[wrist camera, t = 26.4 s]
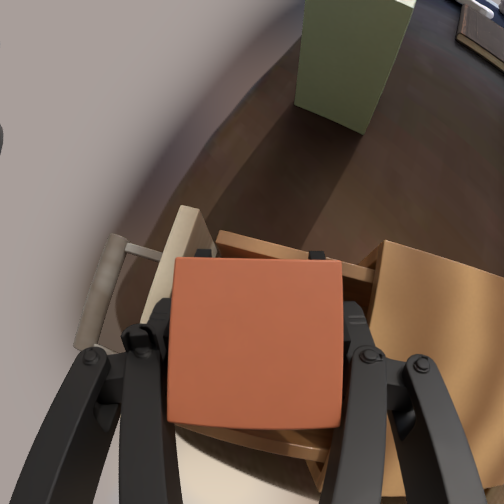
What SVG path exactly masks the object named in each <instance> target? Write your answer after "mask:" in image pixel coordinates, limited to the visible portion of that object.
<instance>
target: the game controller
mask: <svg viewBox="0 0 504 504" xmlns="http://www.w3.org/2000/svg"><path fill="white" fill-rule="evenodd" d="M456 1H458V2H459V3H461V4H467V5H468V6H470V7H472V8H473V9H475V10H477V11H478V12H480V13H481V14H483V15H484V16H486V17H487V18H489V19H492V18H493V16H494V13H493V12H492V11H491V10H490V9H489V8H487V7H486V6H483V5H481V4H479V3H478V2H476V1H475V0H456Z"/></svg>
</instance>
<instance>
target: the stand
mask: <svg viewBox="0 0 504 504" xmlns="http://www.w3.org/2000/svg"><path fill="white" fill-rule="evenodd" d="M416 1H417V0H305V10H304V20H303V30H302V39H301V49H300V58H299V67H298V76H297V85H296V94H295V102H294V105H296V106H298V107H301V108H303V109H306V110H308V111H311V112H313V113H316V114H318V115H320V116H323V117H325V118H327V119H330V120H332V121H334V122H336V123H339V124H341V125H343V126H345V127H347V128H350V129H352V130H354V131H356V132H358V133H360V134H362V135H364V134H365V131H366V129H367V127H368V124H369V122H370V120H371V117H372V115H373V113H374V111H375V108H376V106H377V103H378V101H379V99H380V96H381V94H382V92H383V89H384V87H385V84H386V82H387V79H388V77H389V74H390V72H391V69H392V66H393V64H394V61H395V59H396V56H397V54H398V51H399V48H400V46H401V43H402V40H403V38H404V35H405V32H406V29H407V27H408V24H409V21H410V18H411V16H412V13H413V10H414V7H415V4H416Z"/></svg>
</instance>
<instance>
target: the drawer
mask: <svg viewBox="0 0 504 504" xmlns="http://www.w3.org/2000/svg"><path fill="white" fill-rule="evenodd" d="M216 245H217V247H218V250H219V252H220V254H221V257H222V258H249V259H300V260H308V256H309V252H305V251H301V250H297V249H293V248H289V247H286V246H282V245H278V244H274V243H270V242H266V241H262V240H258V239H255V238H251V237H247V236H243V235H239V234H235V233H231V232H227V231H223V230H219V233H218V236H217V239H216ZM197 249H211V250H212V258H215V257H216V254H217V249H216V247H215V244H214V242H213V240H212V237H211V235H210V233H209V231H208V228H207V226H206V224H205V221H204V219H203V217H202V214H201V212H200V210H199V209H196V208H191V207H187V206H183V205H181V206H180V209H179V211H178V214H177V216H176V219H175V222H174V224H173V227H172V230H171V232H170V235H169V238H168V240H167V243H166V246H165V249H164V251H163V253H162V252H159V251H155V250H152V249H148V248H145V247H141V246H138V245H135V244H131V243H130V241H129V240H128V239H126V238H124V237H121V236H119V235H116V234H110V235H109V237H108V240H107V242H106V245H105V247H104V250H103V253H102V255H101V258H100V261H99V263H98V266H97V269H96V272H95V275H94V278H93V281H92V283H91V286H90V289H89V292H88V296H87V299H86V302H85V305H84V308H83V311H82V315H81V319H80V322H79V325H78V329H77V332H76V336H75V340H74V343H73V347H74V348H76V349H78V350H80V351H82V350H84V349H85V348H88V347H100V348H103V349H104V350H105V351H106V353H107V355H111V354H119V353H118V352H116V351H113V350H111V349H109V348H106V347H104V346H102V345H100V344H98V340H99V337H100V333H101V330H102V326H103V323H104V319H105V316H106V313H107V310H108V306H109V303H110V300H111V297H112V294H113V291H114V288H115V285H116V282H117V279H118V276H119V273H120V270H121V268H122V265H123V262H124V259H125V257H126V254H127V253H129V254H132V255H136V256H139V257H142V258H145V259H149V260H152V261H155V262H159V266H158V269H157V271H156V274H155V277H154V280H153V283H152V286H151V289H150V292H149V295H148V298H147V302H146V305H145V308H144V311H143V314H142V317H141V321H140V323H142V324H147V322H148V320H149V317H150V315H151V313H152V311H153V308H154V306H155V304H156V303H157V302H158V301H160V300H161V299H162V298H172V285H173V273H174V263H175V258H176V257H194V255H195V252H196V250H197ZM326 260H335V259H331V258H328V257H326ZM341 263H342V283H343V301H355V302H356V303H357V304H358V305H359V306H360V307H361V308H362V310H363V313H364V315H365V318H366V317H367V312H368V307H369V302H370V297H371V292H372V286H373V281H374V275H375V270H373V269H369V268H365V267H361V266H358V265H354V264H350V263H346V262H343V261H341ZM120 417H121V415H120ZM174 425H177V426H180V427H182V428H185V429H188V430H191V431H194V432H197V433H200V434H203V435H206V436H209V437H213V438H216V439H219V440H223V441H226V442H230V443H233V444H237V445H241V446H245V447H248V448H252V449H257V450H261V451H265V452H269V453H274V454H279V455H284V456H289V457H294V458H299V459H305V460H311V461H317V462H324V463H325V461H326V458H327V456H328V453H329V450H330V447H331V443H332V437H333V431H334V428H326V429H304V430H251V429H230V428H216V427H204V426H194V425H185V424H177V423H174Z"/></svg>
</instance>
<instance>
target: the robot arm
mask: <svg viewBox="0 0 504 504" xmlns="http://www.w3.org/2000/svg"><path fill="white" fill-rule="evenodd" d="M194 257H204V258H212V250H211V249H197V250H196V252H195V255H194ZM308 260H326V257H325V254H324V251H309V256H308ZM170 312H171V298H162V299H161V300H160V301H158V302H157V303H156V304H155V306H154V308H153V311H152V313H151V315H150V317H149V320H148V322H147V324H142V323H139V324H134V325H131V326H129V327H127V328H126V329H125V330H124V331H123V332H122V335H121V339H122V342H123V345H124V347H125V350H126V352H124V353H119V354H111V355H107V353H106V351H105V350H104V349H103V348H100V347H88V348H85V349H84V350H82V351H81V352H80V353H79V354H78V356H77V357H76V359H75V361H74V363H73V364H72V366H71V368H70V370H69V372H68V374H67V375H66V377H65V379H64V381H63V383H62V385H61V387H60V389H59V391H58V393H57V395H56V397H55V398H54V401H53V403H52V404H51V406H50V409H49V411H48V413H47V415H46V417H45V419H44V421H43V423H42V425H41V427H40V430H39V432H38V434H37V436H36V438H35V440H34V443H33V445H32V447H31V450H30V452H29V454H28V456H27V459H26V461H25V464H24V467H23V469H22V471H21V474H20V477H19V479H18V481H17V484H16V487H15V489H14V492H13V494H12V497H11V500H10V503H9V504H93V500H94V497H95V493H96V490H97V486H98V483H99V480H100V476H101V473H102V470H103V466H104V463H105V460H106V457H107V453H108V450H109V447H110V444H111V441H112V438H113V435H114V432H115V429H116V426H117V423H118V420H119V418H120V438H119V504H183V501H182V493H181V486H180V478H179V469H178V459H177V450H176V438H175V426H174V423H170V422H168V421H167V372H168V346H169V327H170ZM120 415H121V417H120ZM387 415H388V419H389V422H390V426H391V430H392V435H393V439H394V443H395V447H396V451H397V456H398V460H399V465H400V470H401V474H402V479H403V484H404V489H405V495H406V500H407V504H487V501H486V497H485V493H484V490H483V486H482V483H481V479H480V476H479V473H478V470H477V467H476V463H475V460H474V457H473V454H472V451H471V449H470V446H469V443H468V440H467V437H466V435H465V432H464V429H463V427H462V424H461V421H460V419H459V416H458V414H457V411H456V409H455V406H454V404H453V401H452V399H451V396H450V394H449V392H448V389H447V387H446V385H445V382H444V380H443V378H442V376H441V373H440V371H439V369H438V367H437V365H436V363H435V362H434V360H433V359H431V358H430V357H429V356H426V355H423V354H415V355H411V356H410V357H409V358H408V359H407V361H406V362H404V361H398V360H393V359H389V358H387V357H386V356H385V354H384V352H383V351H382V350H381V349H379V348H377V347H376V346H375V343H374V340H373V337H372V335H371V332H370V329H369V326H368V324H367V321H366V318H365V315H364V313H363V310H362V308H361V307H360V306H359V305H358V304H357V303H356V302H355V301H343V386H342V408H341V425H340V427H338V428H334V431H333V437H332V443H331V448H330V454H329V459H328V464H327V469H326V474H325V478H324V483H323V488H322V492H321V496H320V501H319V504H380V503H381V495H382V486H383V475H384V463H385V449H386V428H387Z"/></svg>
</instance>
